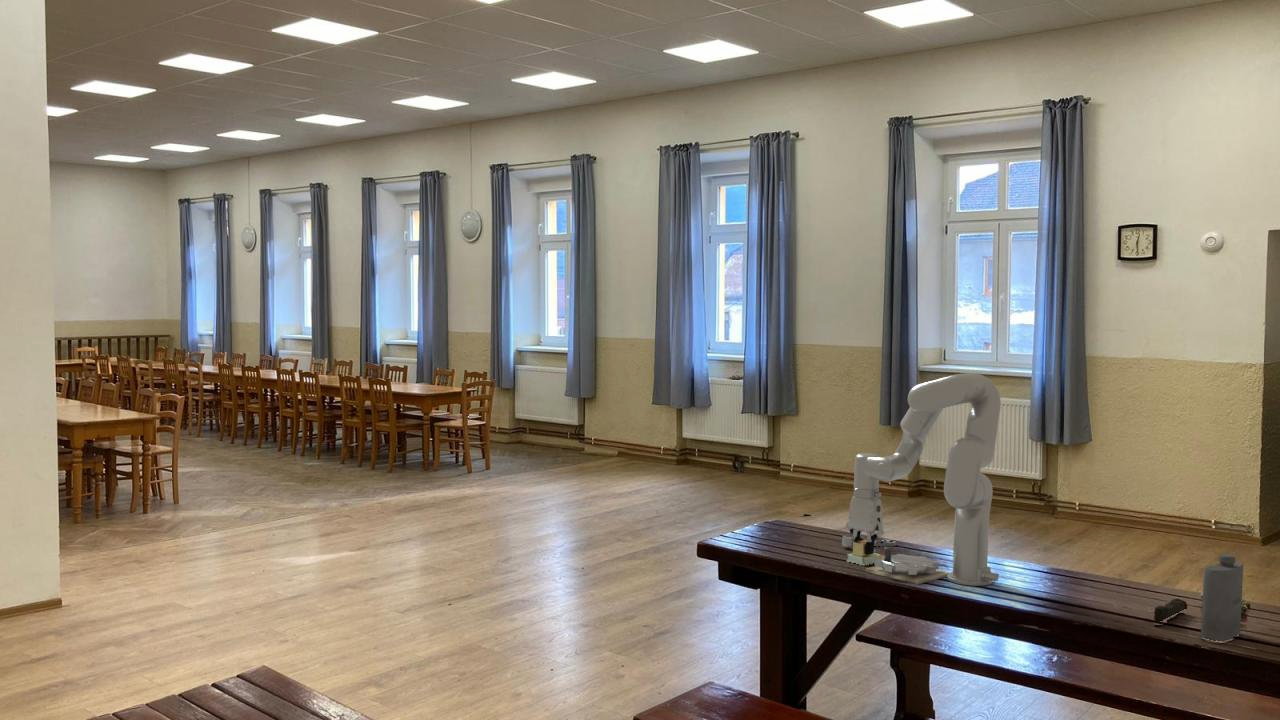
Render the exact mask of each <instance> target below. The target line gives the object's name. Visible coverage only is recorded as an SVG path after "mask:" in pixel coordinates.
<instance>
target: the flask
mask: <svg viewBox="0 0 1280 720" xmlns="http://www.w3.org/2000/svg"><path fill="white" fill-rule="evenodd" d="M1243 580H1244V564H1243V563H1242V562H1240V561H1236V557H1235V556H1233V555H1231V554H1223V553H1222V554H1220V555H1218V563H1216V564H1212V565H1207V566H1204V568H1203V582H1202V586H1203V587H1202V601H1201V602H1202V604H1201V607H1202V608H1201V623H1200V625H1201V626H1200V629H1201V630H1200V638H1201V637H1202V638H1205V639H1209V640H1213V641H1216V640H1217V641H1225V640H1229V639H1232V638H1233V637H1235V636H1237V635H1238V634H1239V633H1240V634H1241V623H1242V622H1241V621H1242V604H1243V603H1242V601H1243V599H1242V598H1243V582H1244V581H1243Z"/></svg>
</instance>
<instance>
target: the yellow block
mask: <svg viewBox="0 0 1280 720" xmlns="http://www.w3.org/2000/svg"><path fill="white" fill-rule="evenodd" d="M866 542H868V540H867V539H862V540H859V541H857V542H853V548H852V553H853V556H858V557H862V558H865V557H870V556H874V553H873V554H870V555H866Z"/></svg>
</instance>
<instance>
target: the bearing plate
mask: <svg viewBox="0 0 1280 720" xmlns="http://www.w3.org/2000/svg"><path fill="white" fill-rule="evenodd" d="M865 572H866V573H868V574H869V573H870V574H873V575H878V576H880V577H881V576H882V577H886V578H891V579H894V580H898V581H902V582H903V581H904V582H906V581H907V583H910V582H911V583H910V584H915V585H920V584H923V583H927V582H932V581H935V580H939V579H944V578H947V574H949V573H950V571H949V572H948V571H943V570H941V569H940V570H939V569H936V573H932V574H930V573H921V574H917V575H909V574H908V573H899V572H888V571H885V569H884V568H882V567H876V566H875V565H874V566H870V567H866V568H865Z"/></svg>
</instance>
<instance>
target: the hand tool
mask: <svg viewBox="0 0 1280 720" xmlns="http://www.w3.org/2000/svg"><path fill="white" fill-rule="evenodd" d="M1184 609H1187V610H1188V604H1187V601H1186V600H1183V599H1181V598H1173V599H1172V600H1170V602H1167V603H1165V604H1164V606H1163V605H1158V606H1156V607H1155V608H1154V611H1153V612H1154V614H1153V619H1154V620H1155V621H1154V622H1155V623H1157V622H1160V621H1163V620H1164V619H1166V618H1168V617H1170V616H1172V615H1174V614H1176V613H1179V612H1180V611H1182V610H1184Z"/></svg>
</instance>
